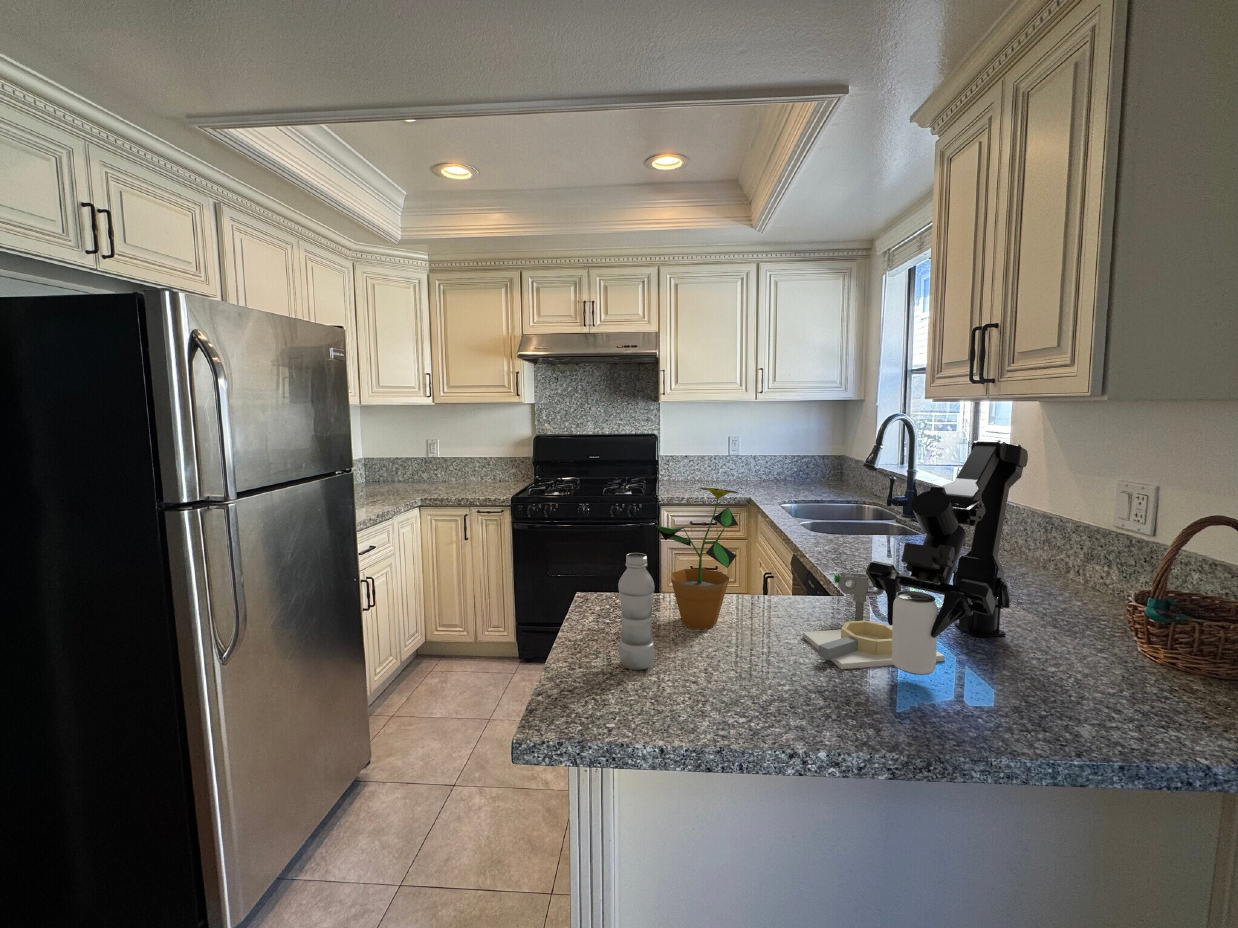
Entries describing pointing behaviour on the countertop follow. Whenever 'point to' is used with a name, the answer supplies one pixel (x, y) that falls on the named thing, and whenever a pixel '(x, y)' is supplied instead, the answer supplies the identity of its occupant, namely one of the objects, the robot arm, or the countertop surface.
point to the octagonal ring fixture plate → (856, 645)
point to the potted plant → (702, 574)
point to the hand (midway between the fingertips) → (910, 629)
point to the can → (914, 632)
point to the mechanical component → (857, 590)
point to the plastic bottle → (636, 614)
